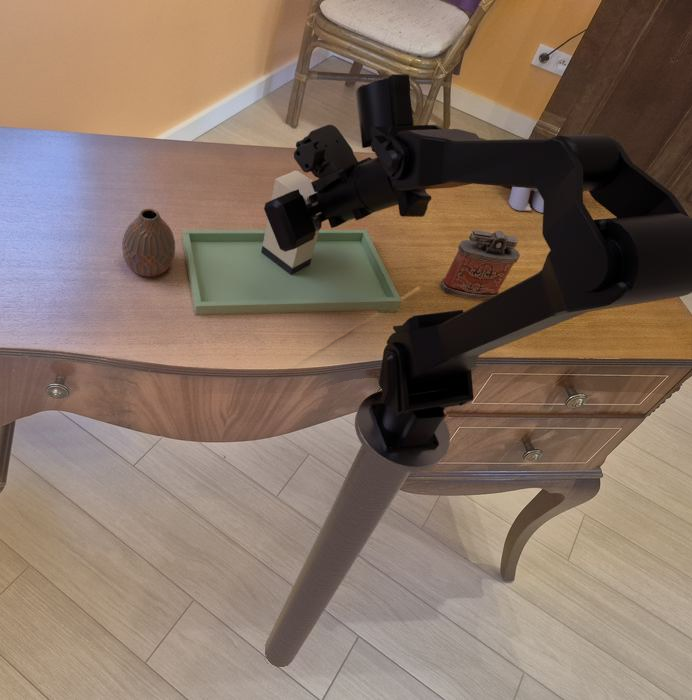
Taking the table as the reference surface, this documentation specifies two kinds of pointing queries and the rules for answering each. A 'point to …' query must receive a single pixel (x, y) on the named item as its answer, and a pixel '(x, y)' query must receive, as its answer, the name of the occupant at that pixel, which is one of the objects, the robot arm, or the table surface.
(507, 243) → the lighter
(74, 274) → the table surface
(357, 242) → the tray
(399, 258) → the table surface
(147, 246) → the vase
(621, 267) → the robot arm
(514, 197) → the hippopotamus toy
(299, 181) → the eraser
